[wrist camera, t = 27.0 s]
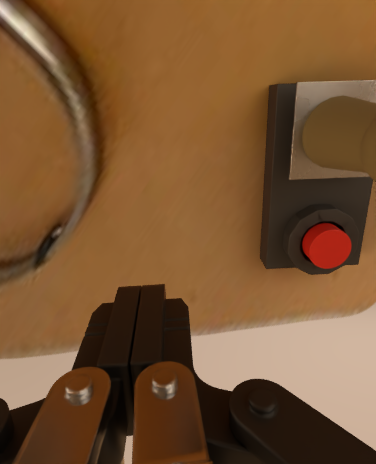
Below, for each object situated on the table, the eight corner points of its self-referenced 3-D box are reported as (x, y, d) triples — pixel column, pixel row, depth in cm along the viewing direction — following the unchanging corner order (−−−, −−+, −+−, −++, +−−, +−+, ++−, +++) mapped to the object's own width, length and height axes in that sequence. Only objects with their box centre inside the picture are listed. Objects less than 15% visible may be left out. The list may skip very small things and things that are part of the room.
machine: (269, 85, 32) (284, 82, 27) (373, 82, 32) (403, 79, 28) (259, 258, 38) (270, 277, 34) (346, 254, 38) (367, 272, 34)
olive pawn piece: (289, 125, 28) (356, 138, 18) (353, 79, 27) (463, 65, 17) (322, 182, 30) (399, 222, 20) (383, 141, 29) (498, 162, 19)
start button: (303, 223, 32) (311, 230, 31) (344, 221, 32) (354, 228, 31) (299, 260, 34) (307, 269, 32) (339, 259, 34) (348, 267, 32)
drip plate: (296, 82, 27) (297, 82, 27) (391, 79, 28) (394, 79, 27) (288, 179, 30) (289, 179, 30) (375, 175, 31) (376, 176, 30)
